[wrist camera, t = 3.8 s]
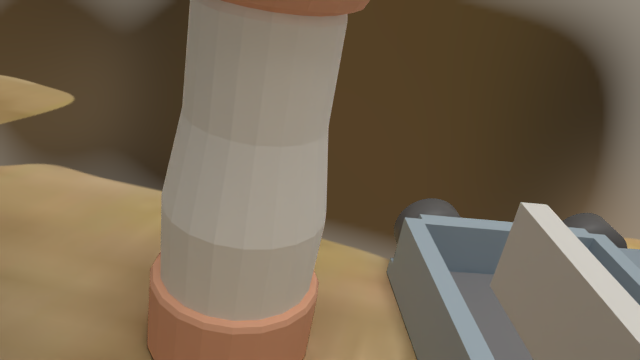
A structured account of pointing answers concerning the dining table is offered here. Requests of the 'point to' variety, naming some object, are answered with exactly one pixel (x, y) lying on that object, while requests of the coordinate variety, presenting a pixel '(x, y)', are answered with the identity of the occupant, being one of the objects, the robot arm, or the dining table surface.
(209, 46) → the pepper shaker
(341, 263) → the dining table surface
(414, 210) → the chassis
